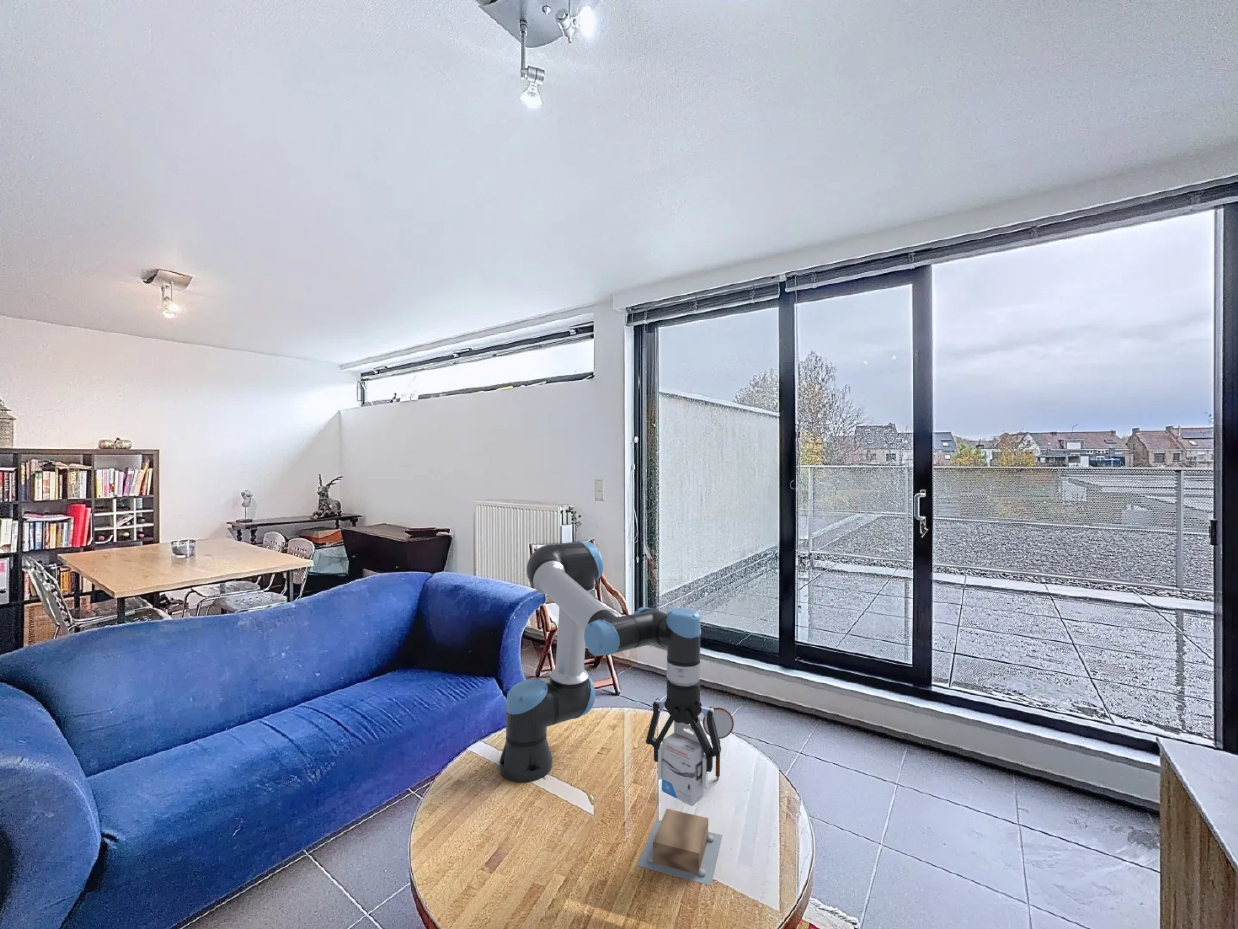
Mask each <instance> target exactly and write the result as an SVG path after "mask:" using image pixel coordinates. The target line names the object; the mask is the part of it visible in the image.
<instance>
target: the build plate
mask: <svg viewBox="0 0 1238 929" xmlns="http://www.w3.org/2000/svg"><path fill="white" fill-rule="evenodd" d="M661 821H662V819H660V820H659V819H655V822H654V825H653V827H652V829H651V831H650V833H649V835H648V838H647V841H646V844H645V846H644V849H643V850H642V853H641V854H640V857H639V860H638V862H637V865H636V866H637V867H640V868H643V869H647V870H651V871H655V872H658V873H661V874H666V875H669V876H673V877H678V878H682V879H685V880H688V881H692V882H695V883H700V884H704V885H707V886H712V885H713V880H714V875H715V871H716V866H717V862H718V857H719V853H720V847H721V843H722V838H723V835H722V834H720V833H715V832H710V831H708V838H707V844H706V848H705V852H704V856H703V860H702V864H701V868H700V869H699V872H698V874H694V873H690V872H686V871H682V870H679V869H675V868H671V867H667V866H664V865H660V864H656V863H654V861H653V841H654V839H655V836H656V834H657V831H658V829H659V826H660V824H661Z"/></svg>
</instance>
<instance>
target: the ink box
mask: <svg viewBox="0 0 1238 929" xmlns="http://www.w3.org/2000/svg"><path fill="white" fill-rule="evenodd" d="M684 729H685V730H689V731H690V732H688V731H685V730H684ZM673 731H674V732H672V733H671V734H669V735H668V736H665V737H664V739H663V740H662V742H661V744H662V779H661V791H662V792H663V793H665V794H667V795H669V796H671V797H673V798H675V799H677V800H679V801H680V802H682V803H685V804H687V805H689V806H690V807H694V806H695V805H696V804H697V803H698V802H699V801H701V800H702V799H703V798H704V791H705V790H704V789H705V788H702V781H703V756H704V751H703V749H702V747H701V745H700V742H699V740H698V738H697V736H696V734H695V732H694V730H693V729H692V728H691V725H690V724H689V725H688V724H684V723H676V722H675V721H673ZM691 732H692V733H691ZM704 732H705V731H704ZM704 732H703V733H704Z"/></svg>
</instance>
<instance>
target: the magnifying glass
mask: <svg viewBox="0 0 1238 929" xmlns="http://www.w3.org/2000/svg"><path fill="white" fill-rule="evenodd" d="M714 721H715V725H716V729H717V733H718V737H719V742H720V743H721V739H722V740H723V739H725V738H727V737H728V736H729V735H730V734H731V733H732V731H734V730H733V729H734V725H735V724H734V723H735V722H734V718H733V715H732V714H731V713H730V711H728V710H727V709H725V708H722V707H714ZM702 728H703V730H704V732H705V734H706V735H708V737H710V734H709V730H708V726H707V719H706V718H705V717H704V716H703V719H702ZM720 777H721V755H720V756H719V757H716V756H715V778H716V780H720Z"/></svg>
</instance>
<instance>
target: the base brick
mask: <svg viewBox="0 0 1238 929" xmlns="http://www.w3.org/2000/svg"><path fill="white" fill-rule="evenodd" d="M708 832H709V818H708V817H704V816H701V815H696V814H691V813H688V812H683V811H678V810H675V809H670V808H666V809H665V811H664V814H663V816H662V819H661V824H660V826H659V829H658V831H657V834H656V836H655V839H654V841H653V861H654V863H656V864H660V865H664V866H667V867H671V868H675V869H679V870H682V871H686V872H690V873H694V874H698V872H699V869H700V868H701V864H702V860H703V856H704V852H705V848H706V844H707V838H708Z"/></svg>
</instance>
